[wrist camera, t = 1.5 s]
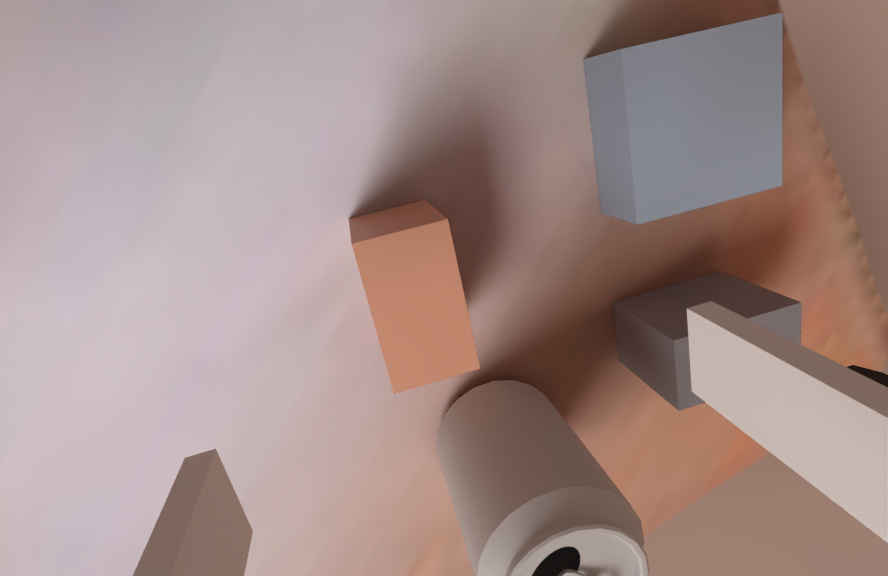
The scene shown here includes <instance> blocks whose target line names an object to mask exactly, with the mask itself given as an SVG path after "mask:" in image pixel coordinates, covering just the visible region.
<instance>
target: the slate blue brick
mask: <svg viewBox="0 0 888 576" xmlns="http://www.w3.org/2000/svg"><path fill="white" fill-rule="evenodd" d="M782 13H783V12H782ZM782 13H778V14H773V15H769V16H764V17H760V18H756V19H751V20H747V21H742V22H738V23H733V24H729V25H725V26H720V27H716V28H711V29H707V30H703V31H698V32H694V33H689V34H685V35H680V36H676V37H672V38H667V39H663V40H658V41H654V42H649V43H645V44H641V45H636V46H632V47H627V48H623V49H619V50H615V51H612V52H608V53H604V54H601V55H597V56H593V57H590V58H586V59H583V61H584V69H585V78H586V87H587V96H588V104H589V113H590V122H591V130H592V139H593V148H594V156H595V165H596V174H597V182H598V191H599V200H600V208H601V213H602V214H605V215H608V216H611V217H615V218H618V219H621V220H624V221H627V222H630V223H633V224H636V225H639V224H642V223H646V222H650V221H654V220H657V219H661V218H665V217H668V216H672V215H676V214H680V213H683V212H687V211H691V210H694V209H698V208H702V207H706V206H709V205H713V204H717V203H720V202H724V201H728V200H731V199H735V198H739V197H743V196H746V195H750V194H754V193H757V192H761V191H765V190H769V189H772V188H776V187H780V186H782Z"/></svg>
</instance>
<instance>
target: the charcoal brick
mask: <svg viewBox="0 0 888 576" xmlns="http://www.w3.org/2000/svg"><path fill="white" fill-rule="evenodd" d="M710 301H712V302H714V303H716V304H718V305H720V306H722V307H724V308H727V309H729V310H731V311H733V312H735V313H737V314H739V315H741V316H743V317H745V318H747V319H749V320H751V321H753V322H755V323H757V324H759V325H761V326H763V327H765V328H767V329H769V330H771V331H773V332H775V333H777V334H780V335H782V336H784V337H786V338H788V339H790V340H792V341H794V342H796V343H798V344H800V345H801V302H799V301H796V300H794V299H791V298H789V297H786V296H783V295H781V294H778V293H775V292H773V291H770V290H768V289H765V288H762V287H760V286H757V285H754V284H752V283H749V282H747V281H744V280H741V279H739V278H736V277H733V276H731V275H728V274H726V273H723V272H720V271H719V272H715V273H712V274H708V275H705V276H701V277H698V278H694V279H691V280H687V281H684V282H680V283H677V284H673V285H670V286H666V287H663V288H659V289H656V290H652V291H649V292H645V293H642V294H638V295H635V296H631V297H628V298H624V299H621V300H617V301H614V302H613V309H614V318H615V327H616V335H617V344H618V353H619V361H620V362H621V363H622V364H623V365H625V366H626V367H627V368H628V369H629V370H631V371H632V372H633V373H634V374H635V375H637V376H638V377H639V378H640V379H641V380H643V381H644V382H645V383H646V384H647V385H649V386H650V387H651V388H652V389H653V390H655V391H656V392H657V393H658V394H659V395H661V396H662V397H663V398H664V399H665V400H666V401H668V402H669V403H670V404H671V405H672V406H674V407H675V408H676V409H677V410H678V411H680V410H683V409H686V408H689V407H692V406H695V405H699V404H702V403H705V401H703V400H702V399H701V398H699V397H698V396H697V395H695V394H694V393H693V392H692V388H691V372H690V355H689V338H688V322H687V308H690V307H693V306H696V305H700V304H703V303H706V302H710Z"/></svg>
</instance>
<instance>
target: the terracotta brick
mask: <svg viewBox="0 0 888 576" xmlns="http://www.w3.org/2000/svg"><path fill="white" fill-rule="evenodd" d="M349 226H350V234H351V242H352V246H353V250H354V254H355V257H356V261H357V264H358V268H359V271H360V275H361V278H362V282H363V285H364V289H365V292H366V296H367V299H368V303H369V306H370V310H371V314H372V317H373V321H374V324H375V328H376V331H377V335H378V338H379V342H380V345H381V349H382V352H383V356H384V359H385V363H386V366H387V370H388V374H389V377H390V381H391V384H392V388H393V391H394V394H395V393H399V392H402V391H406V390H409V389H412V388H416V387H419V386H423V385H426V384H430V383H433V382H436V381H440V380H443V379H447V378H450V377H453V376H457V375H460V374H464V373H467V372H471V371H474V370H477V369H480V365H479V361H478V356H477V351H476V347H475V342H474V338H473V333H472V328H471V324H470V319H469V314H468V310H467V305H466V300H465V296H464V291H463V287H462V282H461V277H460V273H459V268H458V263H457V259H456V254H455V250H454V245H453V240H452V236H451V231H450V226H449V222H448V219H447V218H446V217H445V216H444V215H442V214H441V213H440V212H439V211H438V210H437V209H435V208H434V207H433V206H432V205H431V204H429V203H428V202H427V201H426V200H422V201H418V202H414V203H410V204H406V205H402V206H398V207H394V208H390V209H386V210H382V211H378V212H374V213H370V214H366V215H362V216H358V217H354V218H350V219H349Z"/></svg>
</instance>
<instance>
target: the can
mask: <svg viewBox="0 0 888 576" xmlns="http://www.w3.org/2000/svg"><path fill="white" fill-rule="evenodd" d="M436 451H437V454H438V457H439V460H440V464H441V467H442V470H443V474H444V477H445V480H446V483H447V487H448V490H449V493H450V496H451V500H452V503H453V506H454V509H455V513H456V516H457V519H458V522H459V526H460V529H461V532H462V535H463V539H464V542H465V545H466V549H467V552H468V555H469V558H470V562H471V565H472V568H473V571H474V575H475V576H648V575H649V565H648V559H647V553H646V552H645V550H644V549H643V545H644V538H643V531H642V525H641V520H640V519H639V517H638V516H637V514H636V513H635V511H634V510H633V508H632V507H631V505H630V503H629V502H628V501H627V500H626V498H625V497H624V496H623V494H622V493H621V492H620V491H619V489H618V488H617V487H616V485H615V484H614V483H613V481H612V480H611V479H610V478H609V476H608V475H607V474H606V472H605V471H604V470H603V469H602V467H601V466H600V465H599V463H598V462H597V461H596V460H595V458H594V457H593V456H592V454H591V453H590V452H589V450H588V449H587V448H586V447H585V445H584V444H583V443H582V441H581V440H580V439H579V438H578V436H577V435H576V434H575V432H574V431H573V430H572V429H571V427H570V426H569V425H568V423H567V422H566V421H565V419H564V418H563V417H562V416H561V414H560V413H559V412H558V410H557V409H556V408H555V407H554V405H553V404H552V403H551V401H550V400H549V399H548V398H547V396H546V395H545V394H543V393H542V392H541V391H539V390H538V389H536V388H535V387H534V386H532V385H530V384H526V383H523V382H519V381H515V380H502V381H492V382H489V383H486V384H483V385H480V386H477V387H474V388H473V389H471V390H470V391H468V392H467V393H466V394H464V395H463V396H461V397H460V398H458V399H457V400H456V401H455V403H454V404H453V405H452V406H451V407H450V409H449V410H448V411H447V412H446V413H445V415H444V417H443V420H442V422H441V424H440V427H439V429H438V432H437V445H436Z"/></svg>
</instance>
